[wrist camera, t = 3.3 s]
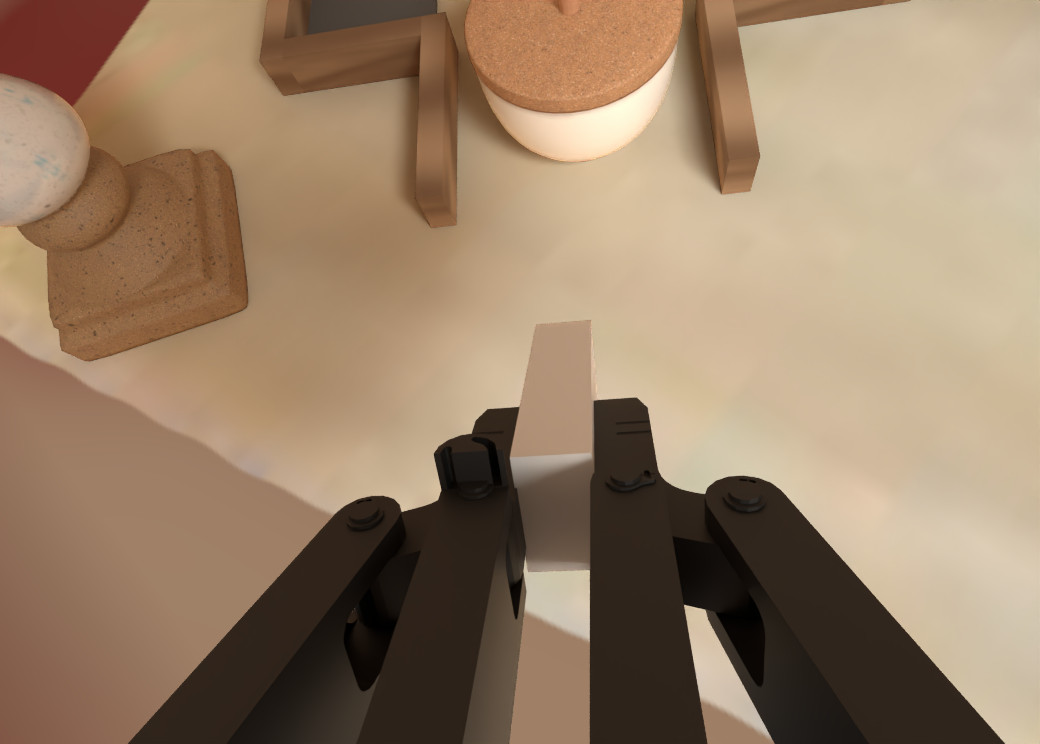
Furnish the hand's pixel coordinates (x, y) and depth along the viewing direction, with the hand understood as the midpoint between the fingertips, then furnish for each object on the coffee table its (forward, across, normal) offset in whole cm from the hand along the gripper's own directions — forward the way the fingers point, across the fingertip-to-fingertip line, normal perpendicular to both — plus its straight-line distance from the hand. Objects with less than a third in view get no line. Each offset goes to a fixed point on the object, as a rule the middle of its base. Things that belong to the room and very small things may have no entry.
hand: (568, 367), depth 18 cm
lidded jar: (+25, +1, +4) cm, 26 cm away
